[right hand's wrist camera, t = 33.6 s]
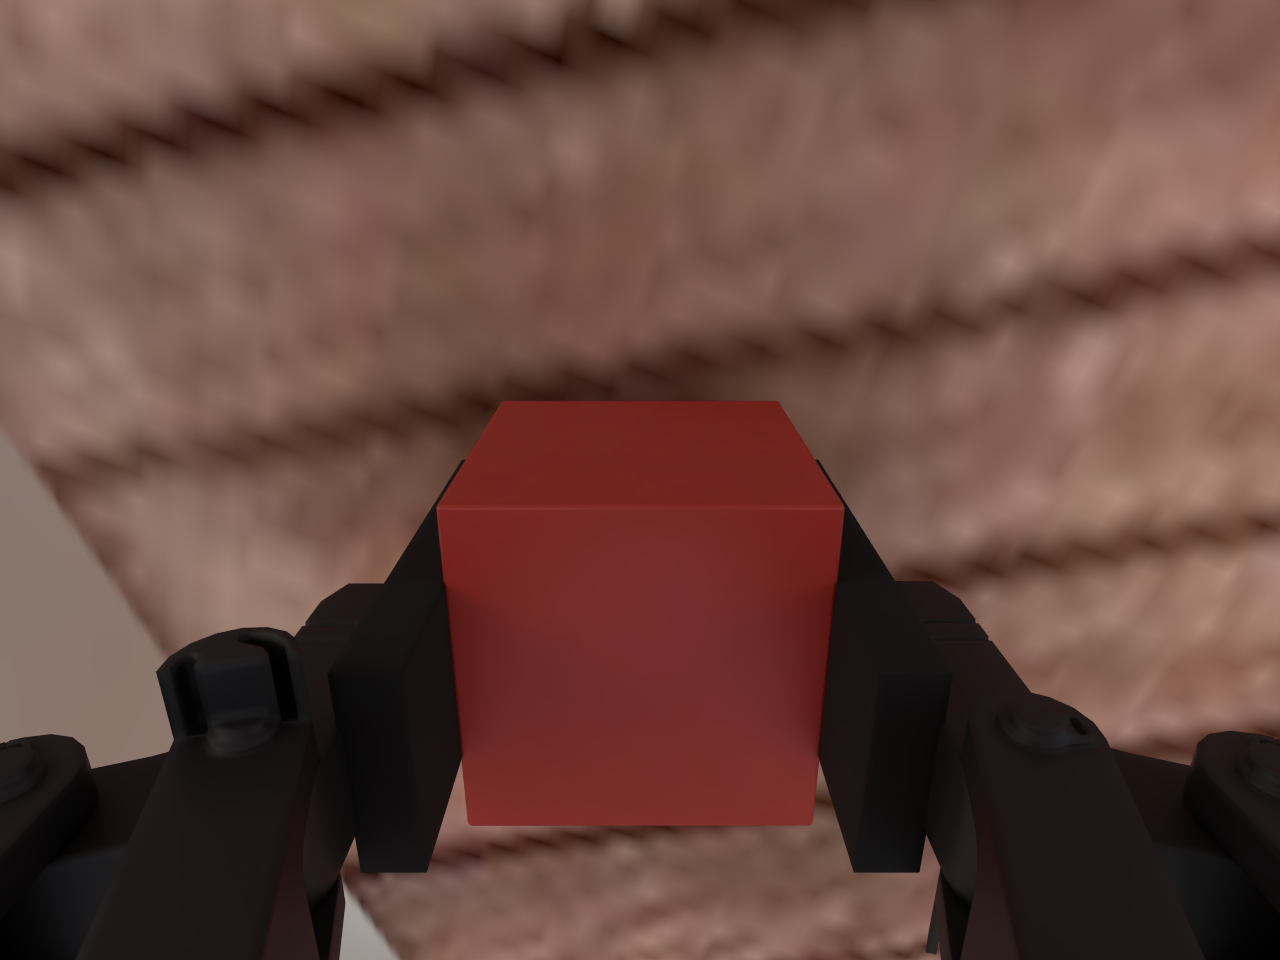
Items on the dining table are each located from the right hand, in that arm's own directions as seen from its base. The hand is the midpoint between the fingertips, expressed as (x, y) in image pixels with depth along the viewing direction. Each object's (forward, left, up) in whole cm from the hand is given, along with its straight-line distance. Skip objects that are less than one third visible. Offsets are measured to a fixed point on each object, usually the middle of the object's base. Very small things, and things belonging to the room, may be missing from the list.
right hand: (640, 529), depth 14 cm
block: (0, 0, 0) cm, 0 cm away
